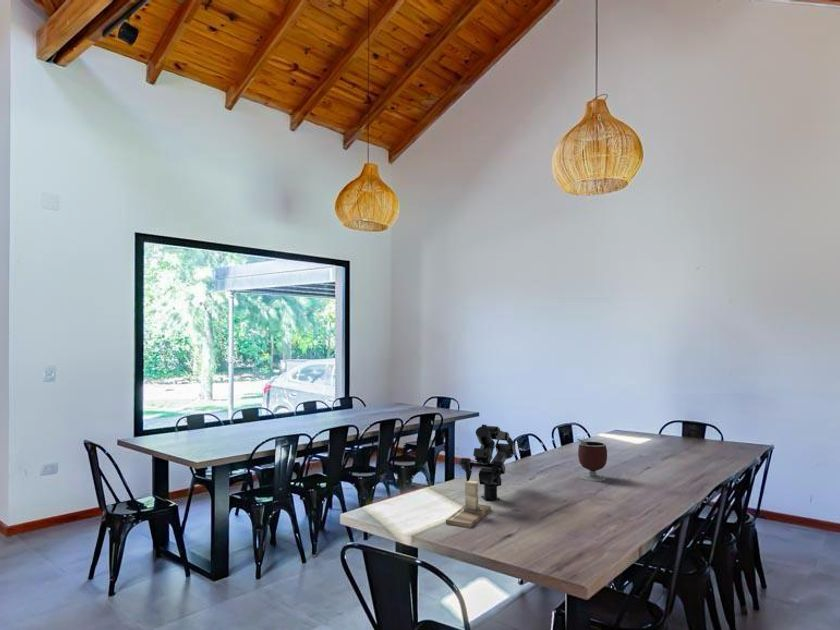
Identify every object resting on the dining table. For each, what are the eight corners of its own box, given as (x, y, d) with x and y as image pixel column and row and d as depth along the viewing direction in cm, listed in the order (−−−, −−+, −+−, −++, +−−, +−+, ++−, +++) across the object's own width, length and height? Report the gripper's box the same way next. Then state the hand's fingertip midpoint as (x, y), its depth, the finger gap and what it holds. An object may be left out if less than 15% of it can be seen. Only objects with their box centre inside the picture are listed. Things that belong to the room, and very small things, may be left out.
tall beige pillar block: (468, 507, 228) (467, 480, 229) (479, 509, 226) (479, 481, 227) (463, 511, 224) (463, 483, 224) (475, 512, 222) (475, 484, 222)
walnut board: (467, 506, 235) (467, 502, 235) (490, 509, 231) (490, 505, 231) (445, 523, 213) (445, 519, 213) (470, 527, 209) (470, 523, 209)
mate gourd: (596, 473, 291) (595, 434, 292) (613, 480, 278) (612, 439, 278) (570, 476, 286) (569, 436, 287) (586, 482, 273) (585, 441, 274)
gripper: (460, 438, 241) (451, 470, 231) (503, 441, 233) (495, 474, 223) (467, 453, 248) (458, 485, 238) (508, 457, 240) (501, 489, 230)
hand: (477, 483), depth 232 cm, fingers open, 9 cm apart
